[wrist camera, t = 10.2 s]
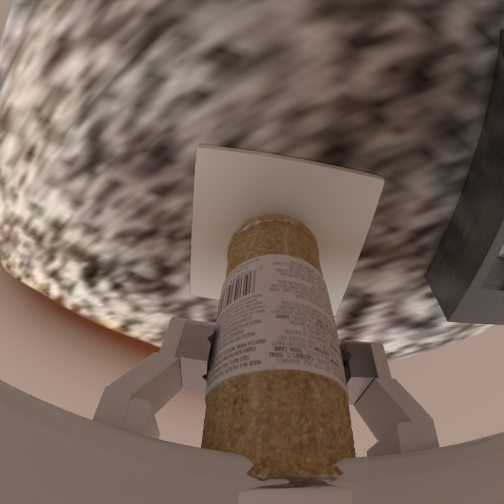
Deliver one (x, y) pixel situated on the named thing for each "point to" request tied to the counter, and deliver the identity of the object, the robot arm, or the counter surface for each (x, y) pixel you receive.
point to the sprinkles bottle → (279, 367)
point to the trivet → (278, 210)
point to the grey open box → (477, 228)
